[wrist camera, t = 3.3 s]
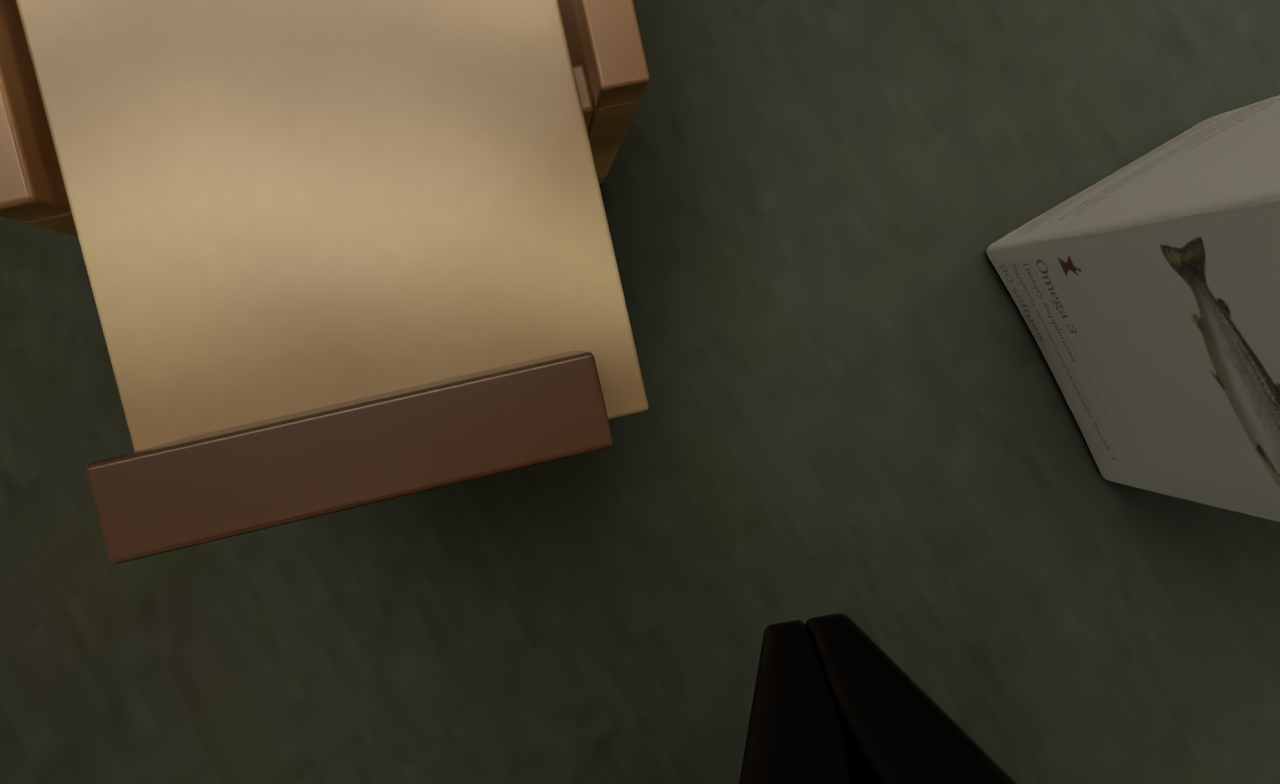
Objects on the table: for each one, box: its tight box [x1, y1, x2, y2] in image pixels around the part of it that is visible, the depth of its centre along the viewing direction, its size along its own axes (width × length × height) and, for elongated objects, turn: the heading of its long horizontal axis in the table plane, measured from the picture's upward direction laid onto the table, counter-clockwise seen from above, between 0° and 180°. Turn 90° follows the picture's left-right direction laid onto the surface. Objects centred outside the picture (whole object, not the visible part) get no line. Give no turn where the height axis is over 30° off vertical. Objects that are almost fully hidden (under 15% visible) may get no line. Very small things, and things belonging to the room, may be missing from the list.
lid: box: [16, 0, 648, 564], centre depth 13 cm, size 12×8×4 cm, turn 13°
